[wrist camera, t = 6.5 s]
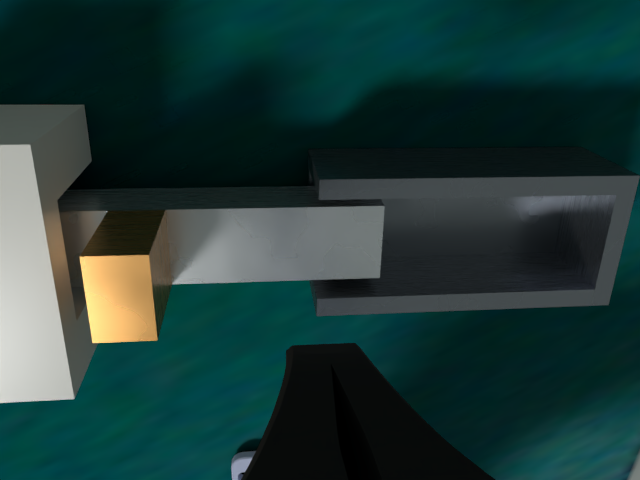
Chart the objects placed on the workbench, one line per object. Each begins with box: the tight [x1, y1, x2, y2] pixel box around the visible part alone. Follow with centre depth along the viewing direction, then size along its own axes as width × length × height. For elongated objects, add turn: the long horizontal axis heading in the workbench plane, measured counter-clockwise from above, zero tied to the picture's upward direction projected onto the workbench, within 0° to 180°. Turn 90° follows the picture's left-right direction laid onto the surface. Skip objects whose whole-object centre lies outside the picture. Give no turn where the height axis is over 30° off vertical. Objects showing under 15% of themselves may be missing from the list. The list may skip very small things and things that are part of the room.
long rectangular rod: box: [57, 186, 385, 343], centre depth 17 cm, size 2×12×5 cm, turn 88°
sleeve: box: [308, 147, 640, 316], centre depth 20 cm, size 4×10×3 cm, turn 89°
